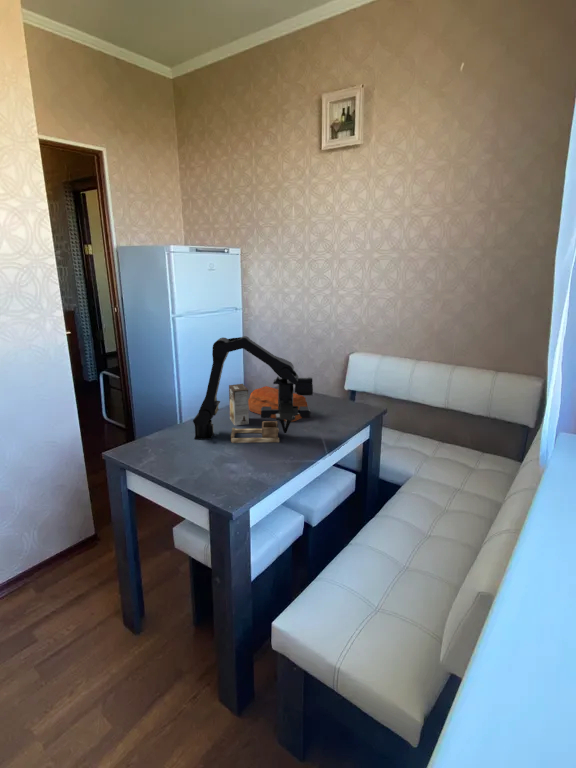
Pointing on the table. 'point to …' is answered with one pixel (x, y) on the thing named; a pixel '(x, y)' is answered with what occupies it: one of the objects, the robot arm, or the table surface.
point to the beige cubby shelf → (249, 440)
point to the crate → (269, 429)
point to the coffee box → (238, 404)
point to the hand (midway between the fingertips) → (285, 432)
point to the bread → (272, 400)
